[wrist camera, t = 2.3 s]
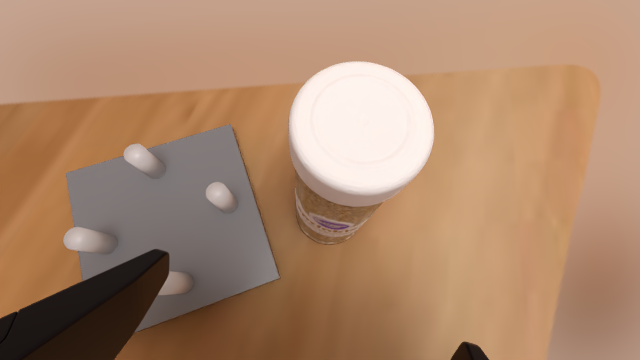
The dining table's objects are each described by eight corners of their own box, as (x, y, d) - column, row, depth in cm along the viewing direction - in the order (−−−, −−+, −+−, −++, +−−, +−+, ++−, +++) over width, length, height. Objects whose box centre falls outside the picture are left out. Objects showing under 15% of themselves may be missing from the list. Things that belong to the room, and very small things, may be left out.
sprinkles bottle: (296, 246, 22) (287, 194, 9) (295, 180, 23) (286, 54, 10) (365, 244, 22) (450, 190, 9) (360, 179, 24) (428, 54, 11)
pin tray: (103, 344, 20) (55, 359, 16) (75, 177, 23) (29, 156, 19) (280, 278, 21) (275, 277, 17) (233, 130, 24) (220, 101, 20)
